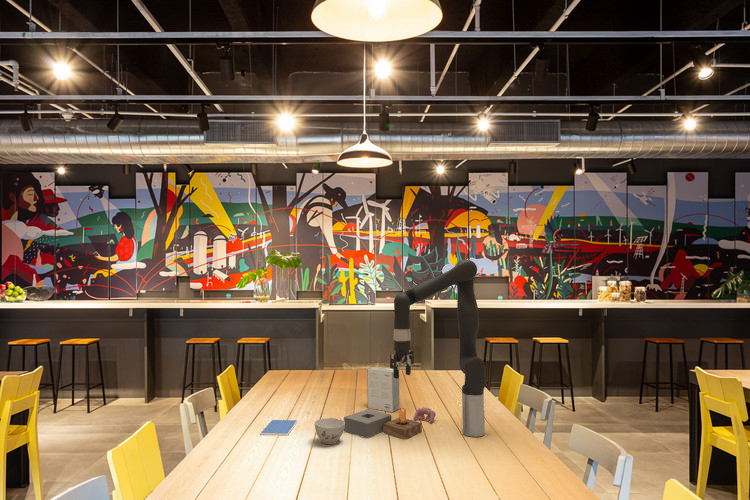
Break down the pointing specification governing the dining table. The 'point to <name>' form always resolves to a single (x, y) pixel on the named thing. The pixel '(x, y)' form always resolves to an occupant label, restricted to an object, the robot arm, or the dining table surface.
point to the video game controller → (427, 411)
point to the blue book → (279, 427)
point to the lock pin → (402, 416)
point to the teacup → (329, 429)
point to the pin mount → (402, 428)
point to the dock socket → (366, 423)
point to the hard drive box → (383, 389)
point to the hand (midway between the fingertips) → (402, 376)
